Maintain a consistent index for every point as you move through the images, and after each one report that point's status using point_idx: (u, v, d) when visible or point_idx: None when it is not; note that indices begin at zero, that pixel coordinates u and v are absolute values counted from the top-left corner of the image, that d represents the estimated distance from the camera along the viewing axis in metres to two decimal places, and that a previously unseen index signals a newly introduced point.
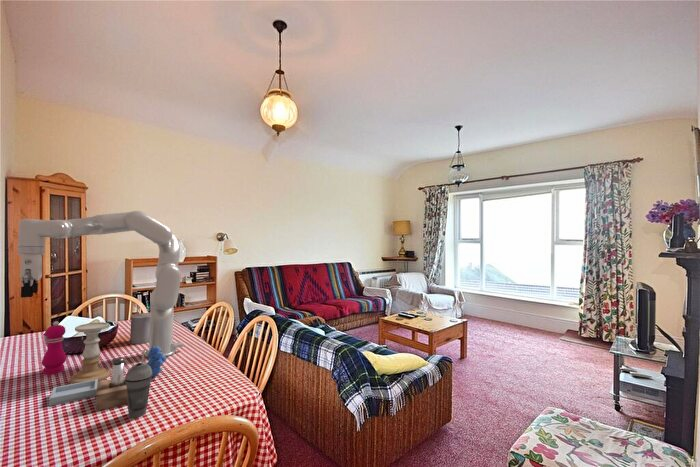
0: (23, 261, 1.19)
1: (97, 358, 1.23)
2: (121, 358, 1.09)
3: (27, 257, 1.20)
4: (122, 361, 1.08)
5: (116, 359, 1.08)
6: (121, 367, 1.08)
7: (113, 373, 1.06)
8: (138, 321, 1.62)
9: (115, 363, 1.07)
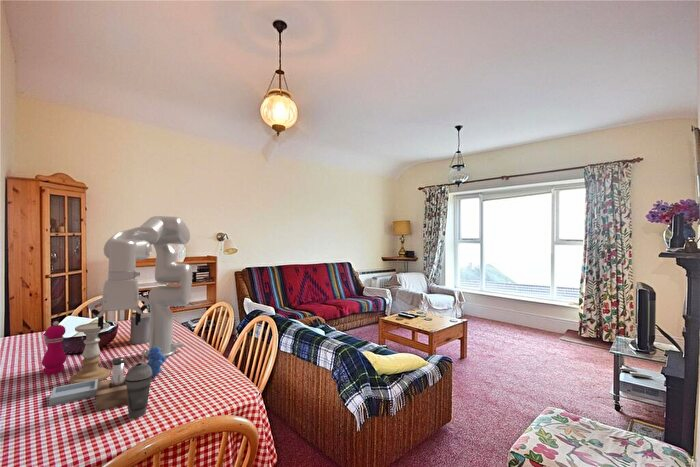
0: (137, 287, 1.10)
1: (97, 358, 1.23)
2: (121, 358, 1.09)
3: (137, 282, 1.11)
4: (122, 361, 1.08)
5: (116, 359, 1.08)
6: (121, 367, 1.08)
7: (113, 373, 1.06)
8: None
9: (115, 363, 1.07)
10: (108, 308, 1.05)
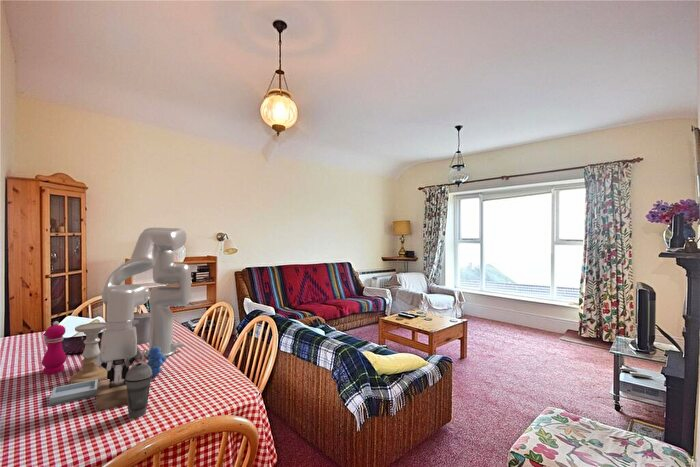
0: (136, 335, 1.10)
1: None
2: None
3: (135, 330, 1.11)
4: (122, 361, 1.08)
5: None
6: (121, 367, 1.08)
7: (113, 373, 1.06)
8: None
9: (115, 363, 1.07)
10: (106, 359, 1.04)
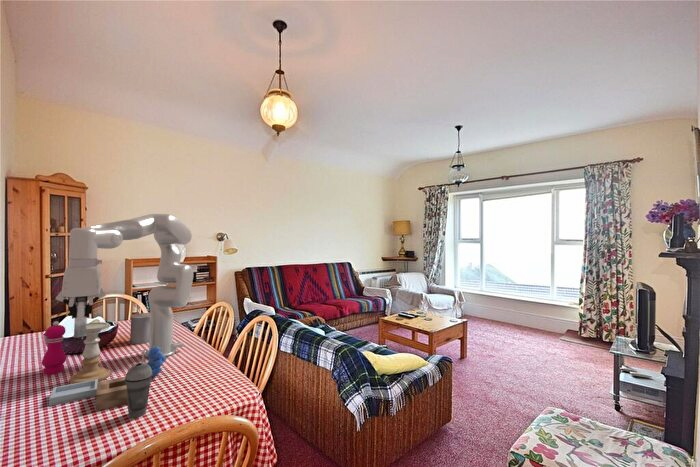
0: (99, 274, 1.12)
1: (97, 358, 1.23)
2: None
3: (99, 269, 1.12)
4: (85, 299, 1.10)
5: (79, 297, 1.09)
6: (84, 305, 1.09)
7: (76, 310, 1.08)
8: (138, 321, 1.62)
9: (78, 300, 1.08)
10: (68, 295, 1.06)
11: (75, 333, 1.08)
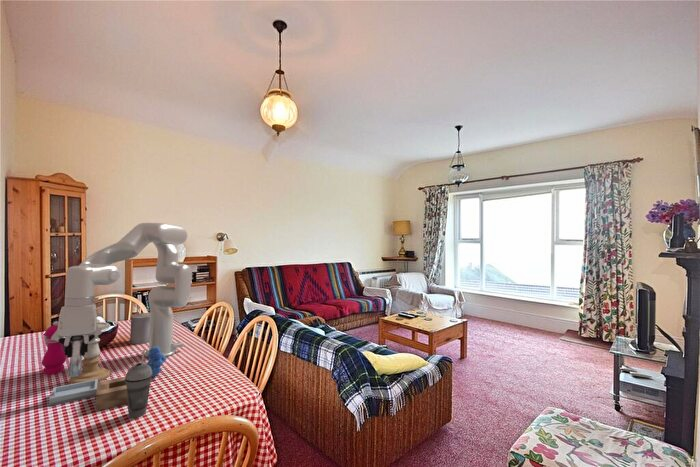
0: (95, 312, 1.11)
1: (97, 358, 1.23)
2: None
3: (95, 307, 1.12)
4: (80, 337, 1.09)
5: None
6: (80, 344, 1.09)
7: (71, 349, 1.08)
8: (138, 321, 1.62)
9: (73, 339, 1.08)
10: (64, 334, 1.06)
11: (70, 372, 1.08)
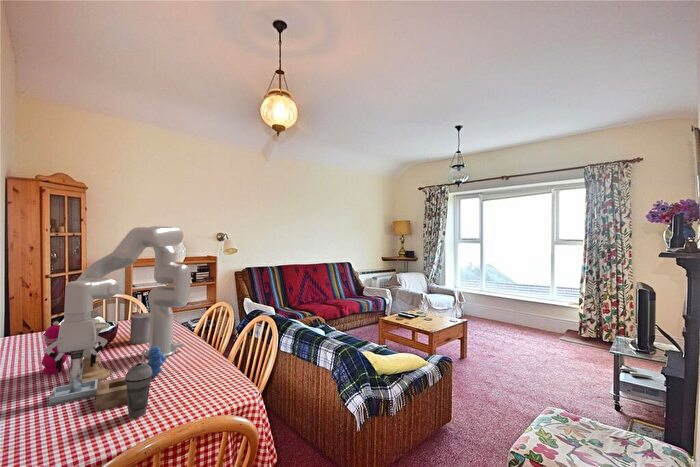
0: (94, 326, 1.11)
1: (97, 358, 1.23)
2: (79, 352, 1.10)
3: (95, 322, 1.12)
4: (80, 355, 1.09)
5: (74, 353, 1.09)
6: (79, 361, 1.09)
7: (71, 367, 1.08)
8: (138, 321, 1.62)
9: (73, 357, 1.08)
10: (63, 350, 1.06)
11: (71, 390, 1.08)
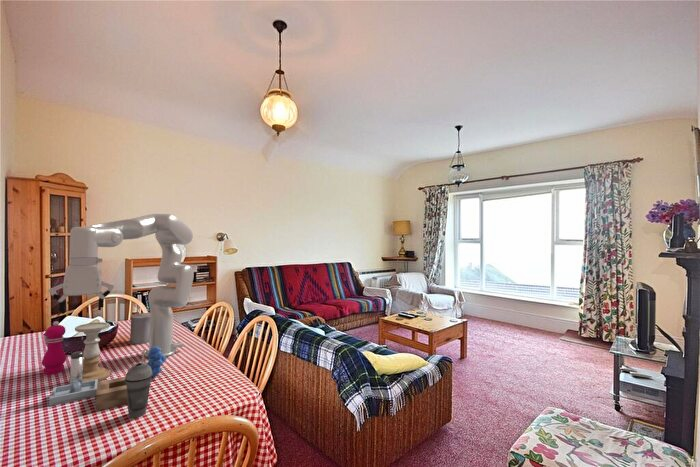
0: (99, 272, 1.13)
1: (97, 358, 1.23)
2: (80, 352, 1.10)
3: (99, 268, 1.13)
4: (81, 355, 1.09)
5: (75, 353, 1.09)
6: (80, 361, 1.09)
7: (72, 367, 1.08)
8: (138, 321, 1.62)
9: (73, 357, 1.08)
10: (69, 293, 1.07)
11: (71, 390, 1.08)
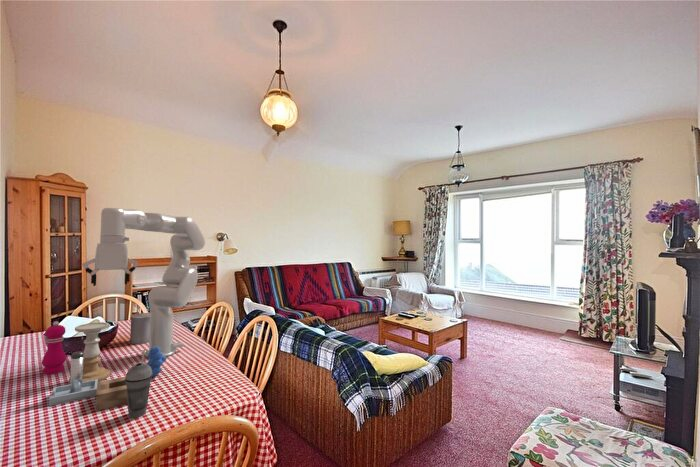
0: (126, 250, 1.24)
1: (97, 358, 1.23)
2: (80, 352, 1.10)
3: (126, 246, 1.25)
4: (81, 355, 1.09)
5: (75, 353, 1.09)
6: (80, 361, 1.09)
7: (72, 367, 1.08)
8: (138, 321, 1.62)
9: (73, 357, 1.08)
10: (100, 267, 1.19)
11: (71, 390, 1.08)
